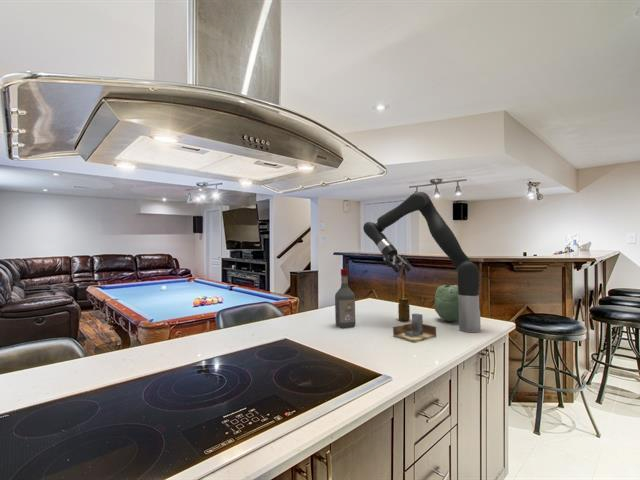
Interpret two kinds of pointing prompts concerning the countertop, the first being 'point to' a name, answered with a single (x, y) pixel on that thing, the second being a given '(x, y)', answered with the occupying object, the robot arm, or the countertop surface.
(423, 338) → the tray
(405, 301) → the condiment
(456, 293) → the green rounded lump
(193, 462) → the countertop surface
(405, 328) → the walls
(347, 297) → the liquor
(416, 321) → the bracket
